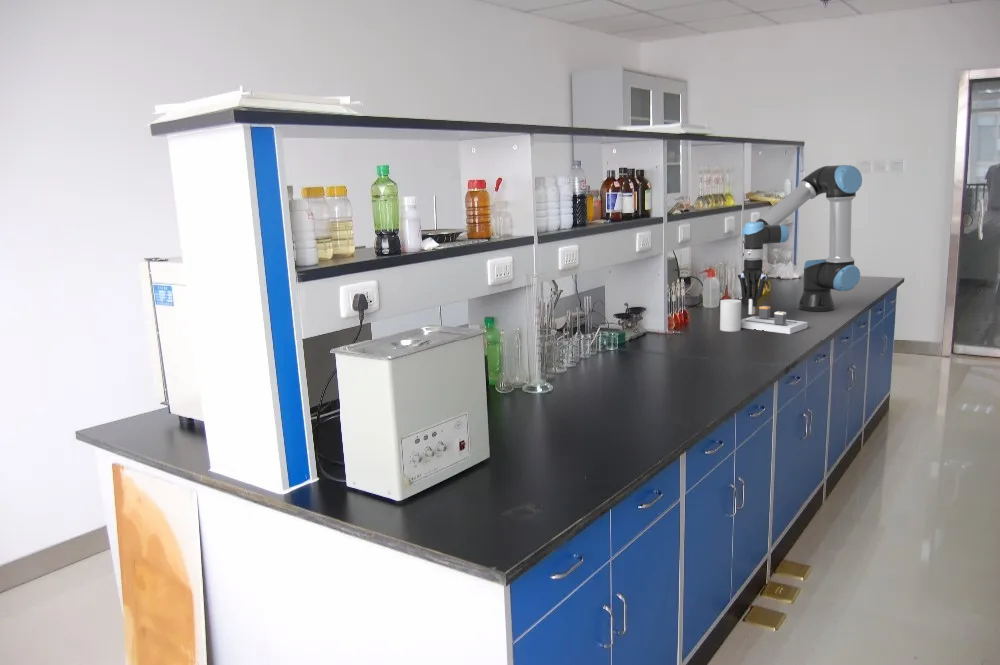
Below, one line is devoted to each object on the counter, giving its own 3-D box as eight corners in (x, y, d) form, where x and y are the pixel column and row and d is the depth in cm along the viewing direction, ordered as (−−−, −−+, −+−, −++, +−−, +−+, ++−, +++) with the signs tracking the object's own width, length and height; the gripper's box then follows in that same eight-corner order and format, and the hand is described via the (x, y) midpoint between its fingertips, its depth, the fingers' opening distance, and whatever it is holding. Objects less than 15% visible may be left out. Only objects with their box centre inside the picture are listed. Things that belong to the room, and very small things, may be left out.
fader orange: (762, 316, 312) (762, 305, 311) (770, 317, 310) (770, 306, 309) (758, 317, 310) (759, 306, 309) (766, 318, 308) (767, 307, 307)
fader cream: (777, 322, 299) (777, 311, 298) (786, 323, 296) (786, 312, 295) (774, 323, 297) (774, 312, 296) (782, 324, 294) (783, 313, 293)
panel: (753, 321, 318) (753, 315, 317) (807, 327, 300) (807, 321, 300) (735, 327, 308) (735, 320, 308) (789, 334, 291) (790, 327, 290)
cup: (738, 327, 307) (738, 299, 305) (742, 331, 299) (743, 302, 297) (718, 327, 308) (718, 299, 306) (722, 331, 300) (722, 302, 298)
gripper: (734, 259, 312) (733, 313, 316) (763, 260, 302) (761, 316, 307) (743, 257, 316) (742, 311, 321) (772, 258, 307) (770, 314, 312)
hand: (751, 313), depth 314 cm, fingers closed
